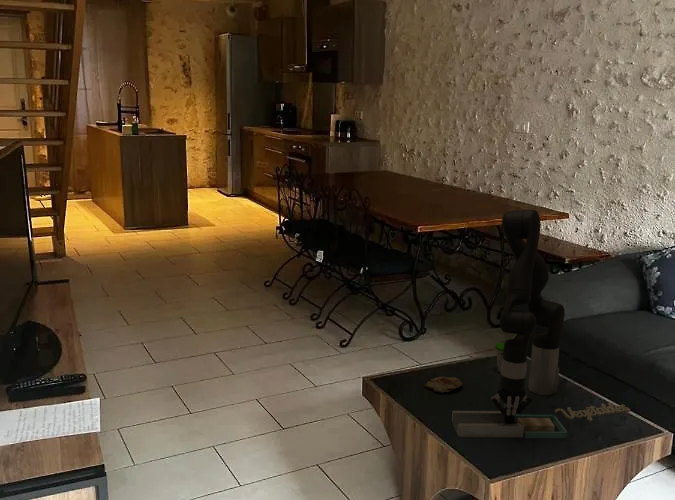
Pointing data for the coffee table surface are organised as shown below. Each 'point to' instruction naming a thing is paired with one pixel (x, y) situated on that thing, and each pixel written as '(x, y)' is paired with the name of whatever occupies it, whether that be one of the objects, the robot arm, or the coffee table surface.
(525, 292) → the robot arm
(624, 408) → the decorative sign
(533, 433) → the tray
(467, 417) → the slot rail
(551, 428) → the chip
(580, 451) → the coffee table surface
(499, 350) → the cup
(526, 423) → the beige square block
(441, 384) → the stone
